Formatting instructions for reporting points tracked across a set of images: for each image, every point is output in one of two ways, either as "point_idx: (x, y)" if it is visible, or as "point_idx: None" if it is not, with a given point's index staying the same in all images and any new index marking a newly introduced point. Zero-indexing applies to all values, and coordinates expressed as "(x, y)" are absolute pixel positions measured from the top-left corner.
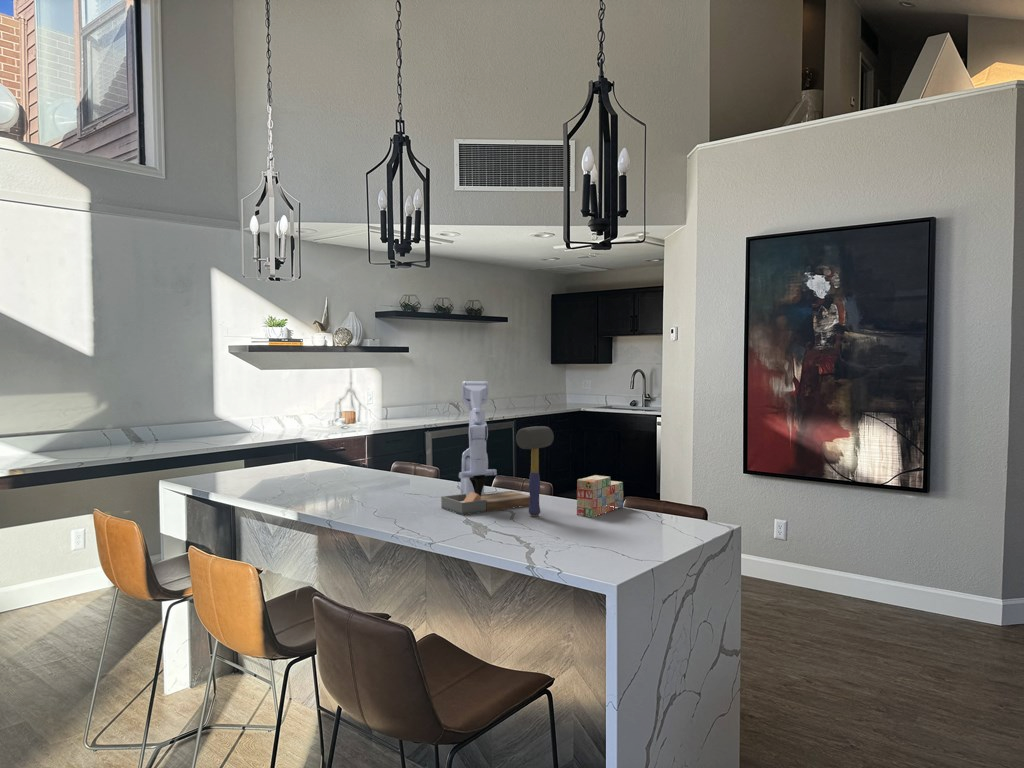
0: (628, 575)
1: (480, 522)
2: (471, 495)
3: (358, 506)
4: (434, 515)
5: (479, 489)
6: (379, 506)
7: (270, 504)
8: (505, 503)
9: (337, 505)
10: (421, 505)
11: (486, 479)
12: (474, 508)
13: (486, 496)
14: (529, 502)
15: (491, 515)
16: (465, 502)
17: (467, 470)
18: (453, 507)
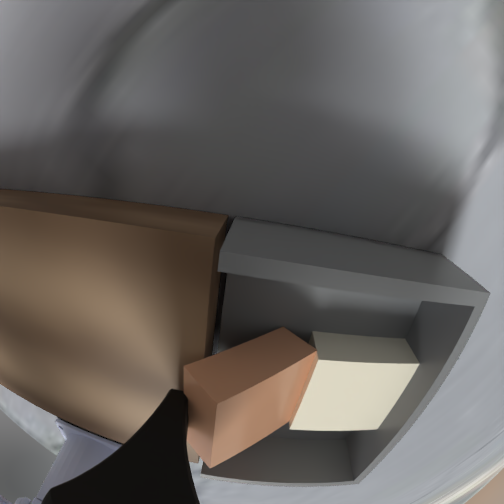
0: None
1: (481, 23)
2: (238, 434)
3: (442, 487)
4: (498, 333)
5: (171, 445)
6: (425, 484)
7: (466, 500)
8: (44, 204)
9: (445, 495)
10: None
11: (54, 496)
12: (362, 250)
13: (88, 398)
14: None
15: (307, 75)
16: (467, 291)
17: None
18: None
